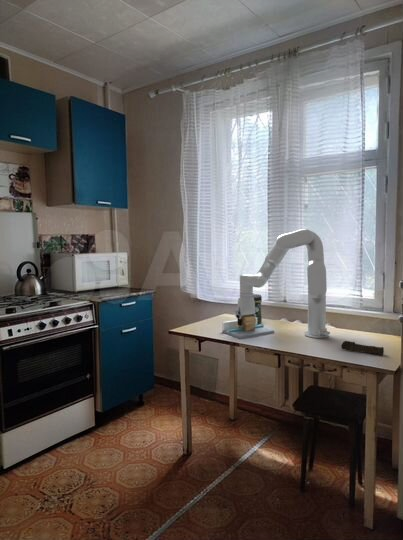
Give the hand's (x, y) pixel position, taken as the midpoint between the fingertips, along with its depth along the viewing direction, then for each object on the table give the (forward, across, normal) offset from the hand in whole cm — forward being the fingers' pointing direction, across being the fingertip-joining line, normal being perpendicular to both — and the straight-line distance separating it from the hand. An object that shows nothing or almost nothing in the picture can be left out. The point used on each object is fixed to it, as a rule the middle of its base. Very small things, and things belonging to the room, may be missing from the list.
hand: (246, 324), depth 226 cm
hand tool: (+5, -23, +61) cm, 66 cm away
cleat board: (+5, 0, +2) cm, 5 cm away
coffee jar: (+5, -18, -16) cm, 25 cm away
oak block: (+3, 0, 0) cm, 3 cm away
